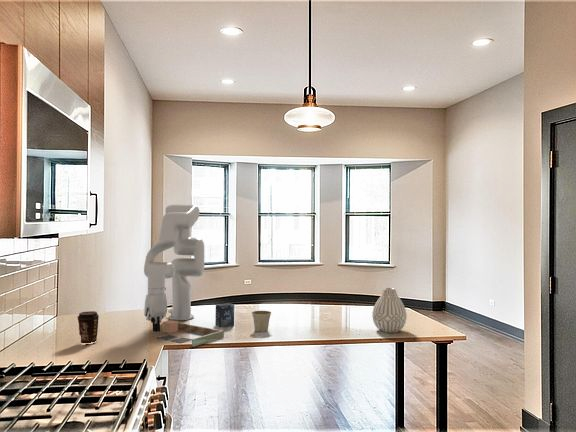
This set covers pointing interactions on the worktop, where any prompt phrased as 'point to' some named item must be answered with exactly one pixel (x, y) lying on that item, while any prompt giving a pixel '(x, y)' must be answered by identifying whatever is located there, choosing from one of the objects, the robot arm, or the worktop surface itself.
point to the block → (170, 326)
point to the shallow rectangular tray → (208, 332)
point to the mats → (175, 339)
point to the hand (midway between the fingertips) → (156, 331)
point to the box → (224, 315)
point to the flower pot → (261, 320)
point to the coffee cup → (88, 326)
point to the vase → (389, 312)
